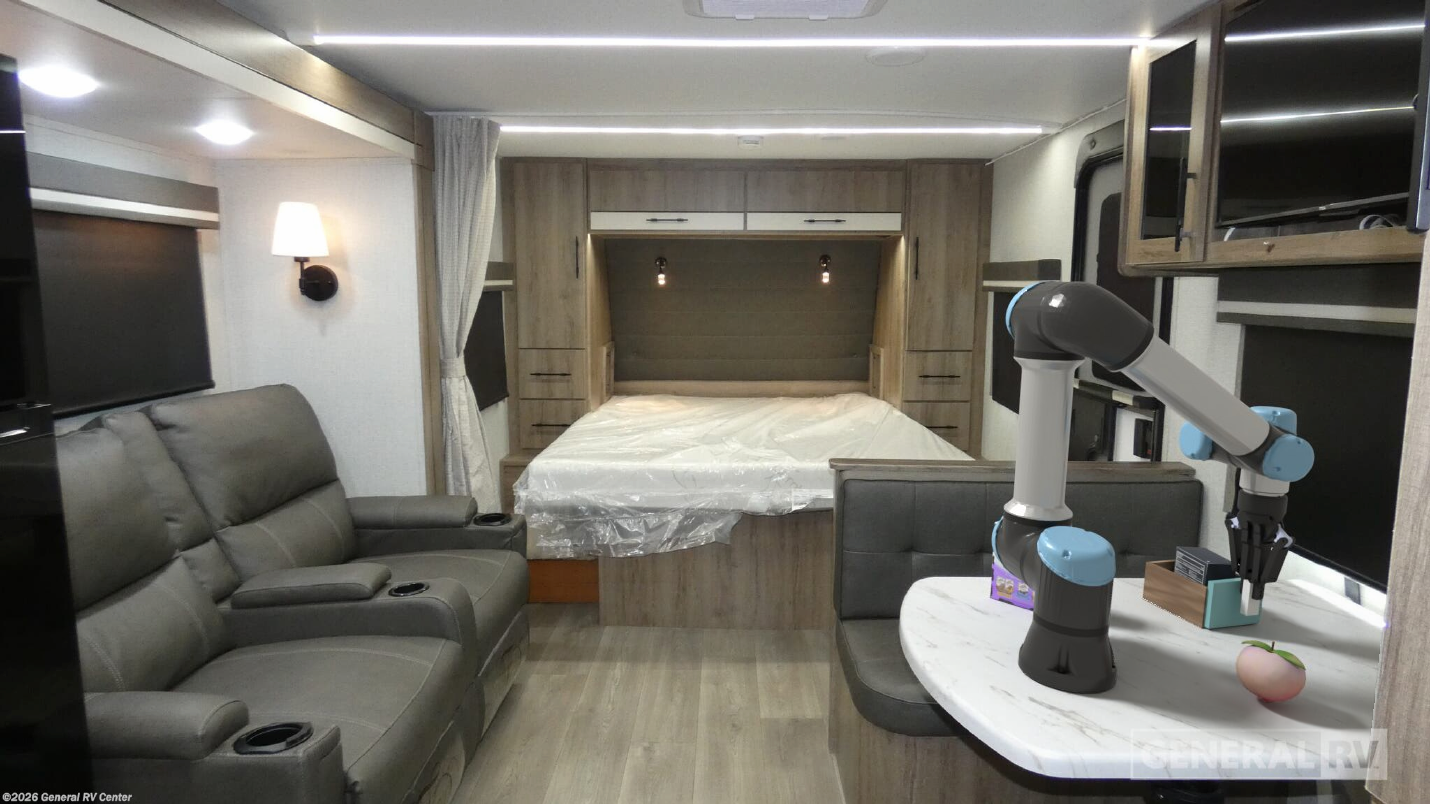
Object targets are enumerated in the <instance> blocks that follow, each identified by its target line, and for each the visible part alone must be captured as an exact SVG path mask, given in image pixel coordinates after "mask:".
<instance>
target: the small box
mask: <svg viewBox="0 0 1430 804" xmlns="http://www.w3.org/2000/svg"><path fill="white" fill-rule="evenodd" d="M1174 560H1175V566H1174V573H1176V574H1179V575H1181V576H1183V577H1186V578H1188V579H1190V580H1193V581H1195V582H1197V583H1199V584H1202V585H1204V586H1206V587H1208V581H1213V580H1223V579H1234V578H1235V576H1236V573H1237V572H1234V571H1232V568H1231V559H1228V558H1225V557H1224V556H1222V555H1220V554H1219V553H1216V552H1214V551H1212V550H1210V549H1208V548H1206V547H1201V546H1200V547H1195V546H1178V545H1177V546H1176V547H1175V558H1174Z"/></svg>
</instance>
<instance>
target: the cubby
mask: <svg viewBox="0 0 1430 804" xmlns="http://www.w3.org/2000/svg"><path fill="white" fill-rule="evenodd" d="M1174 566H1175V559H1166V560H1154V561H1146V562H1145V570H1144V571H1145V572H1144V579H1143V589H1142V599H1143V598H1144V599H1146V600H1148V601H1150V602H1152V603H1153V604H1152V603H1151V604H1152V605H1154V604H1156V605H1157V606H1156V605H1155V606H1156V607H1158V606H1159V607H1158V608H1160V607H1161V608H1160V609H1162V610H1164V609H1166V610H1167V611H1166V610H1165V611H1166V612H1168V611H1169V612H1168V613H1170V612H1171V613H1170V614H1172V615H1174V614H1175V615H1174V616H1176V615H1177V616H1176V617H1178V616H1180V617H1181V619H1182V618H1183V619H1182V620H1184V619H1185V620H1184V621H1186V622H1188V621H1189V622H1188V623H1190V624H1192V623H1193V624H1192V625H1194V626H1196V625H1197V626H1196V627H1198V626H1199V627H1198V628H1201V629H1204V628H1205V629H1206V627H1204V617H1205V608H1206V599H1207V590H1208V587H1206V586H1204V585H1202V584H1199V583H1197V582H1195V581H1193V580H1190V579H1188V578H1186V577H1183V576H1181V575H1179V574H1176V573H1174ZM1235 578H1241V577H1240V575H1239V574H1238V573H1237V572H1236V576H1235ZM1144 599H1143V600H1144ZM1146 600H1145V601H1146ZM1148 601H1147V602H1148ZM1150 602H1149V603H1150ZM1180 617H1179V618H1180Z"/></svg>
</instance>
